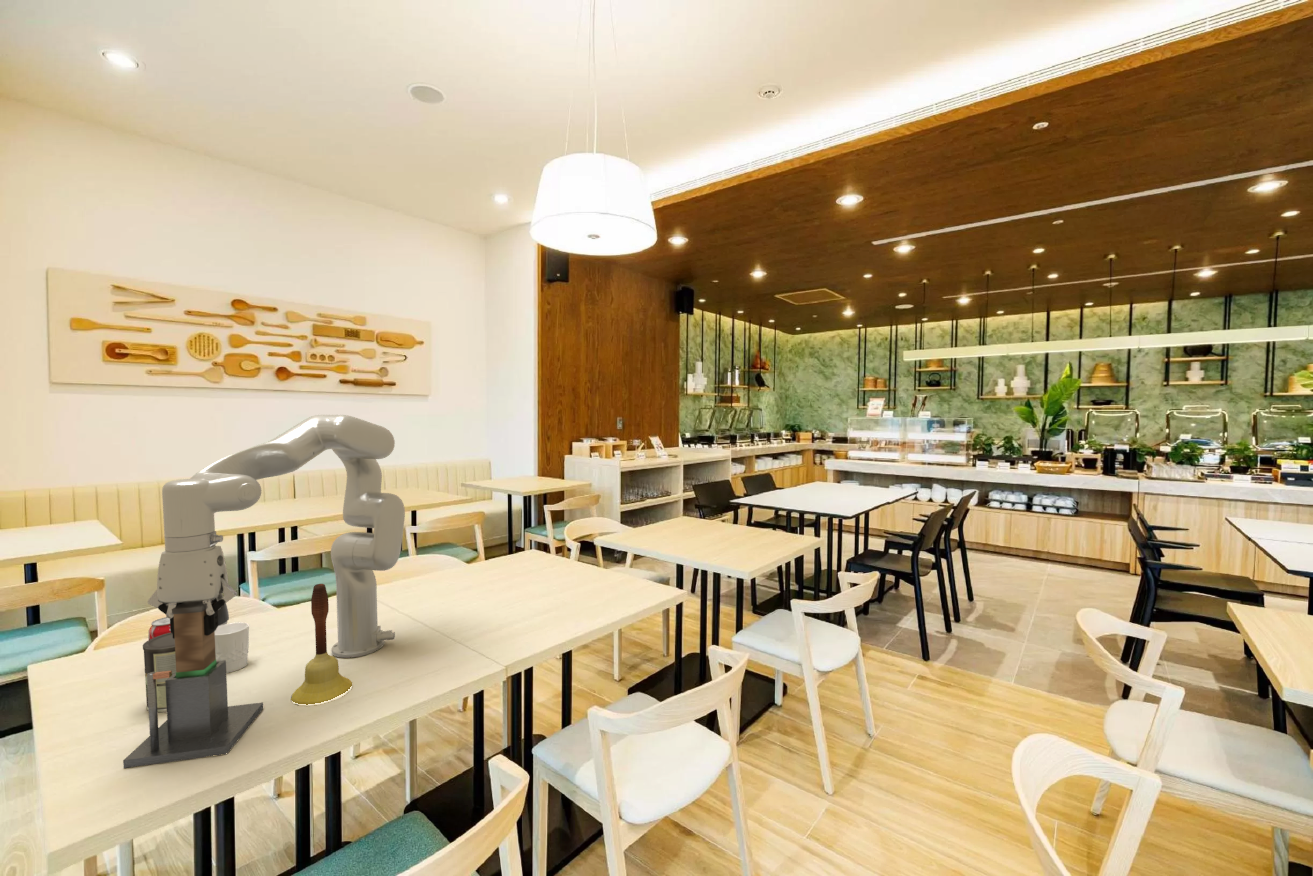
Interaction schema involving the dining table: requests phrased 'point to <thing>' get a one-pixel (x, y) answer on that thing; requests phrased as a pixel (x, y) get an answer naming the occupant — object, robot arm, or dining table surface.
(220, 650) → the white cup
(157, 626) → the soda can
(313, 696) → the handbell
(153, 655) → the coffee can
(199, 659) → the walnut post
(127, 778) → the dining table surface
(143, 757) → the steel stand
